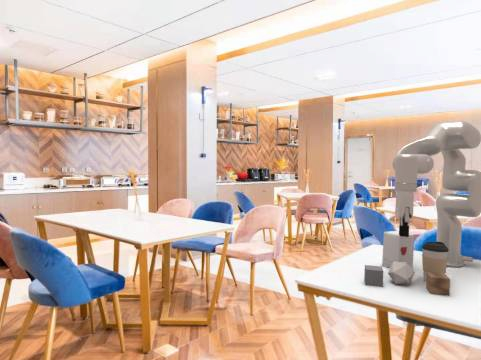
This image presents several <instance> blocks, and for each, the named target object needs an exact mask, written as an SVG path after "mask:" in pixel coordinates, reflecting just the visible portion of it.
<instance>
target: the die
mask: <svg viewBox="0 0 481 360" xmlns="http://www.w3.org/2000/svg"><path fill="white" fill-rule="evenodd" d="M415 274H416V272H415V270H413V269H412V268H411V267H410V266H409V264H408V263H407V262H393V263H392V265H391V267H390V268H389V269H388V271H387V275H388V276H389V277H390V279H391V280H392V281H393V282H394V283H395V285H410V284H411V282H412V280H413V278H414V276H415Z"/></svg>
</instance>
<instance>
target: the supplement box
mask: <svg viewBox="0 0 481 360" xmlns="http://www.w3.org/2000/svg"><path fill="white" fill-rule="evenodd" d="M414 250H415V234H413V233H410V232H409V237H402V236H400V235H399V230H392V231H391V230H390V231H383V242H382V259H381V261H382V263H381V265H382V266H384V267H387V268H389V269H390V267H391V265H392V263H393V262H407V263H408V264H409V266H410V267H411V268H412V269H413V268H414V253H415V252H414Z"/></svg>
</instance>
